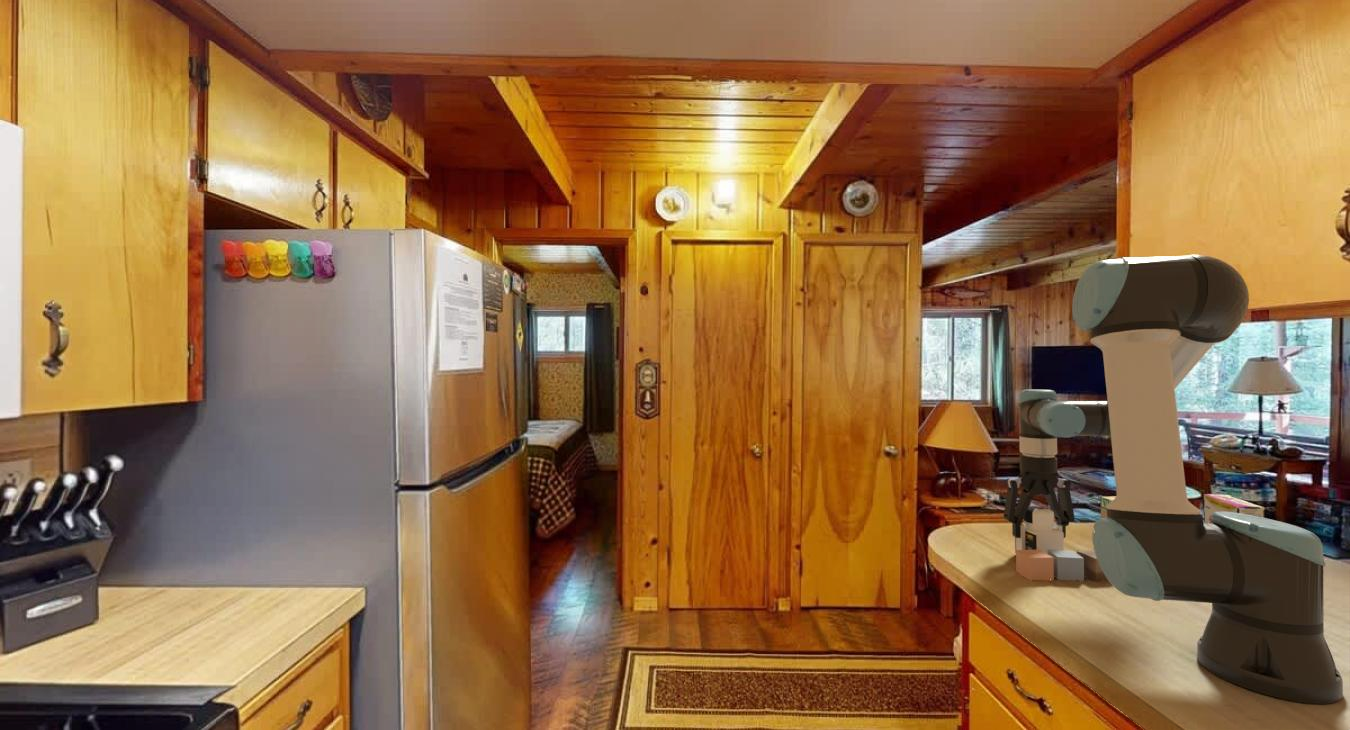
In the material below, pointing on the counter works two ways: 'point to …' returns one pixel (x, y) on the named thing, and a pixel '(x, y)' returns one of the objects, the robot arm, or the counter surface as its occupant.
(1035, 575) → the terracotta cube
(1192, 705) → the counter surface
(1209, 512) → the candy bar box
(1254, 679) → the robot arm
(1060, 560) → the slate blue cube
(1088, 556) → the walnut cube
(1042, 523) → the medicine bottle
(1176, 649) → the counter surface
